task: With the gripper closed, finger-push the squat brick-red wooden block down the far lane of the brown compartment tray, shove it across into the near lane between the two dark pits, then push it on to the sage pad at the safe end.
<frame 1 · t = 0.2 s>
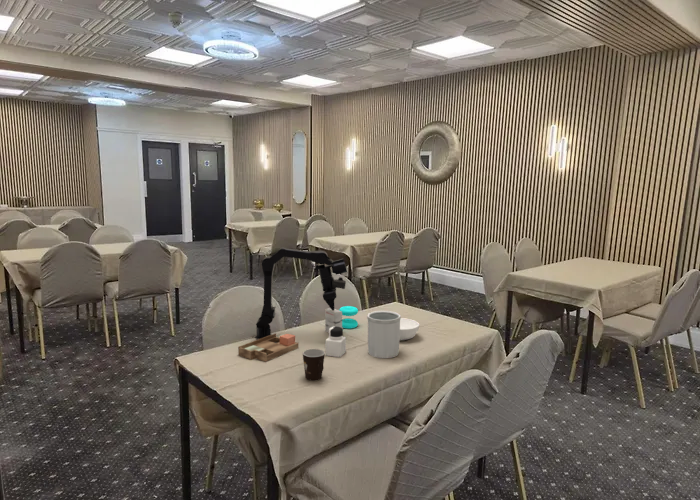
hand: (333, 307, 223), 15 cm above the table, tool pointing down, fingers open, 9 cm apart
brown compartment tray: (270, 351, 206), on the table
donuts: (348, 326, 243), on the table
utensil holder: (382, 353, 207), on the table
bowl: (400, 337, 228), on the table
block: (287, 343, 210), point 2 cm above the table, touching brown compartment tray
coffee mug: (313, 379, 179), on the table
medicine bottle: (335, 354, 205), on the table
ink box: (333, 333, 233), on the table
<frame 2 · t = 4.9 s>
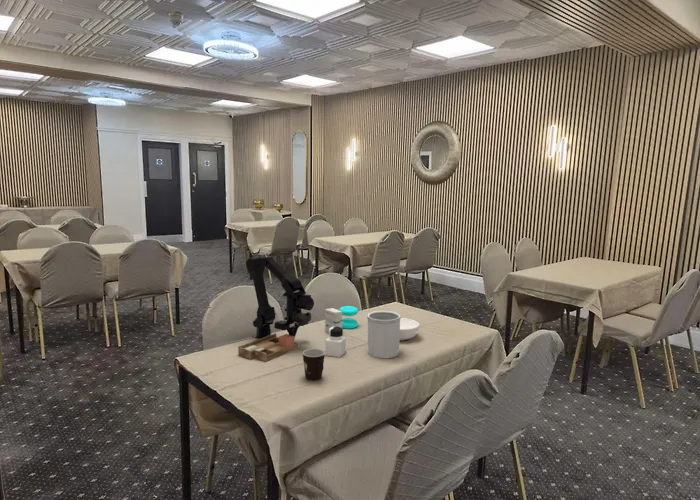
hand: (292, 339, 212), 3 cm above the table, tool pointing down, fingers closed
block: (286, 343, 209), point 2 cm above the table, touching brown compartment tray, gripper
everything else where it was.
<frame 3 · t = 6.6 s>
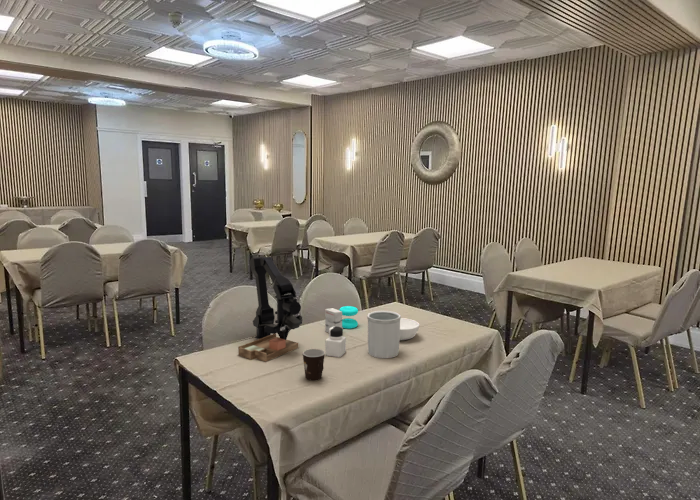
hand: (283, 343, 207), 3 cm above the table, tool pointing down, fingers closed
block: (277, 347, 204), point 2 cm above the table, touching brown compartment tray, gripper
everything else where it was.
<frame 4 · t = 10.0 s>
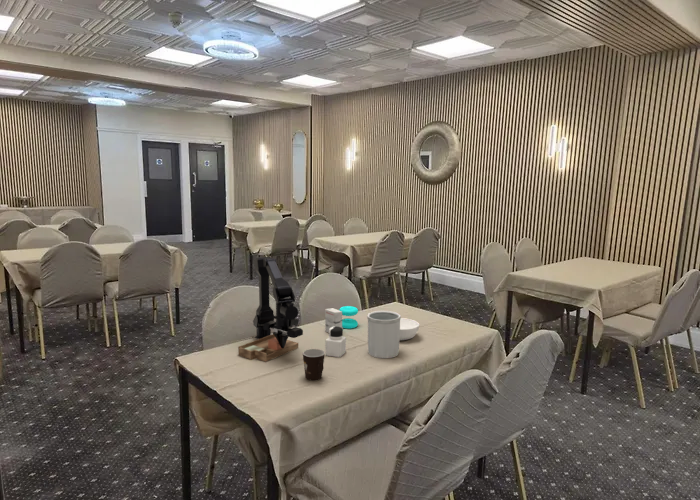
hand: (282, 347, 202), 3 cm above the table, tool pointing down, fingers closed
block: (276, 347, 205), point 2 cm above the table, touching brown compartment tray
everything else where it was.
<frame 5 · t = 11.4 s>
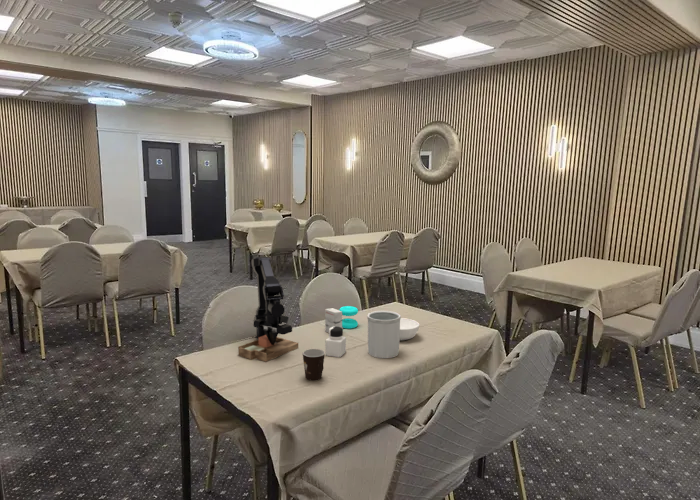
hand: (272, 344, 205), 3 cm above the table, tool pointing down, fingers closed
block: (266, 344, 208), point 2 cm above the table, touching brown compartment tray, gripper
everything else where it was.
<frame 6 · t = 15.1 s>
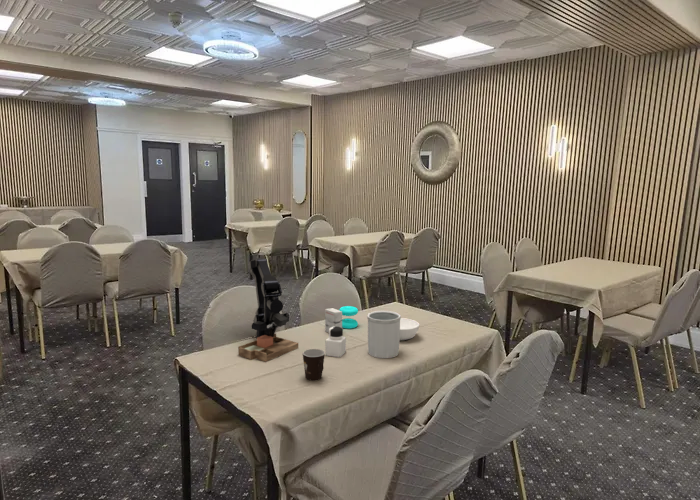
hand: (271, 340, 211), 3 cm above the table, tool pointing down, fingers closed
nothing on the table moved.
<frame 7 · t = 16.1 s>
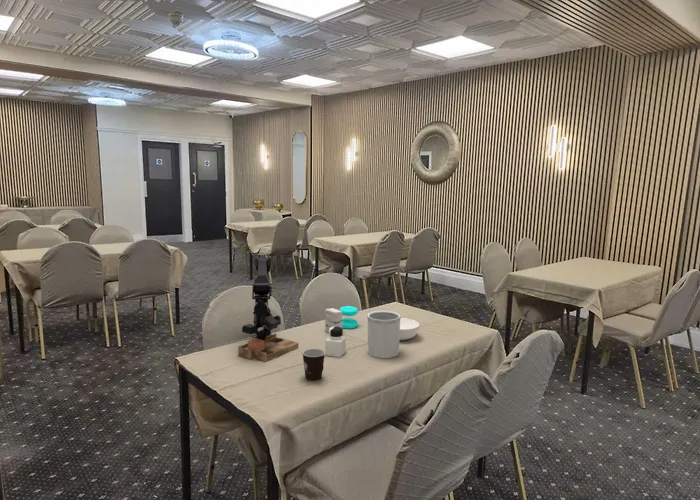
hand: (262, 343, 206), 3 cm above the table, tool pointing down, fingers closed
block: (256, 348, 203), point 2 cm above the table, touching gripper
everything else where it was.
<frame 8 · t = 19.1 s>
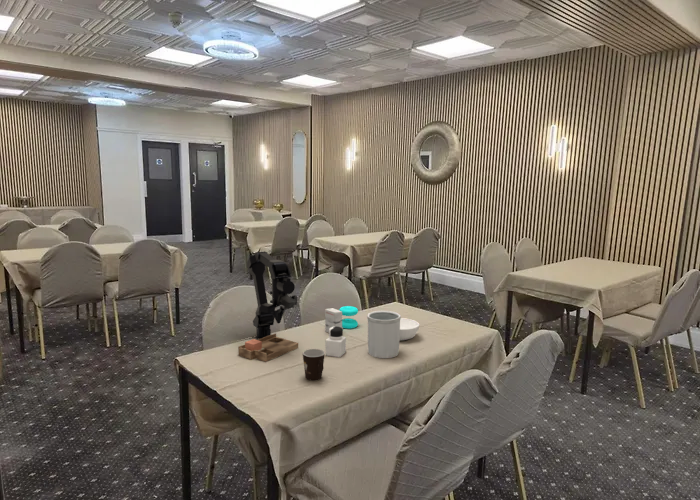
hand: (278, 323, 208), 12 cm above the table, tool pointing down, fingers closed
block: (253, 349, 202), point 2 cm above the table, touching brown compartment tray
everything else where it was.
at the end: block 0.8 cm from the target spot, point 2.4 cm above the table; block tilted 0° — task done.
